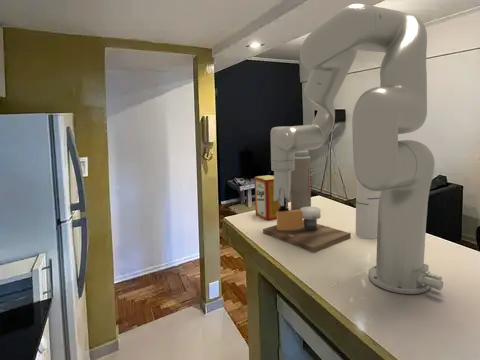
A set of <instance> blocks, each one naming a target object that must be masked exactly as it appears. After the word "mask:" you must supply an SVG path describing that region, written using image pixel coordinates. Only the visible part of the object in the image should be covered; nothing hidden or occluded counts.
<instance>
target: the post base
mask: <svg viewBox="0 0 480 360" xmlns="http://www.w3.org/2000/svg"><path fill="white" fill-rule="evenodd" d="M317 222H318V219H316V220H308V219H303V228H299V229H288V230H277V224H275V225H271V226H269V227H265V228H262V234H264V235H267V236H270V237H272V238H275V239H277V240H280V241H283V242H284V243H287V244H290V245H292V246H296V247H297V248H298V247H299V248H301V249H303V250H306V251H309V252H311V253H317V252H320V251H322V250H325V249H327V248H329V247H332V246H334V245H337V244H339V243H341V242H345V241H347V240H349V239H351V232H348V231H344V230H340V229H338V228H337V229H336V228H333V227H331V226H326V225H323V224H320V223H317Z"/></svg>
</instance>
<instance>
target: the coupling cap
mask: <svg viewBox="0 0 480 360" xmlns="http://www.w3.org/2000/svg"><path fill="white" fill-rule="evenodd" d="M320 218H321V208H320V207H317V206H311V207H302V208H301V209H300V210H291V209H290V210H289V211H278V212H277V219H276V225H277V230H288V229H299V228H303V220H304V219H308V220H316V219H317V220H318V219H320Z"/></svg>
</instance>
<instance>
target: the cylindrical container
mask: <svg viewBox="0 0 480 360" xmlns="http://www.w3.org/2000/svg"><path fill="white" fill-rule="evenodd" d="M355 183H356V187H355V188H356V191H355V193H356V195H355V196H356V197H355V236H356V237H358V238H361V239H367V240H375V239H376V240H377V227H378V203H379V197H380V194H381V191H371V190H369V189H366V188H365V187H364V186H362V185H361V183H360V182H359V181H358V179H357V178H356V182H355Z"/></svg>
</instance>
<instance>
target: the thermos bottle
mask: <svg viewBox="0 0 480 360" xmlns="http://www.w3.org/2000/svg"><path fill="white" fill-rule="evenodd" d="M309 151H310V150H305V151H297V152H295V170H293V171H291V193H290V210H300V209H301V208H302V207H312V179H311V177H312V173H311V172H312V170H311V169H312V167H311V166H312V163H311V161H312V160H311V156H310V152H309Z"/></svg>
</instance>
